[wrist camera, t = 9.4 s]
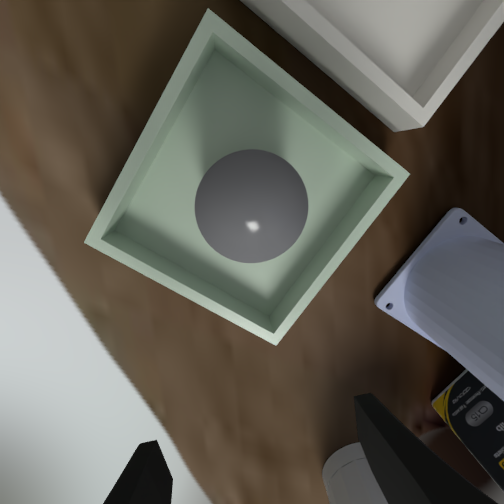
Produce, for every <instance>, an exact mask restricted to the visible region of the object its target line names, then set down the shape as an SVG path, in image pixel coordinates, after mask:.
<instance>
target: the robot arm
mask: <svg viewBox="0 0 504 504" xmlns="http://www.w3.org/2000/svg"><path fill="white" fill-rule="evenodd" d="M460 218H462V221H461V222H460V223H459V220H460ZM388 303H390V305H389V306H388V307H386V305H387V304H388ZM375 305H376V306H377V307H378V308H380V309H381V310H383V311H384V312H386V313H387V314H389V315H391V316H392V317H394V318H395V319H397V320H398V321H400V322H401V323H403V324H405V325H406V326H408V327H409V328H411V329H412V330H414V331H415V332H417V333H419V334H420V335H422V336H423V337H425V338H426V339H428V340H430V341H431V342H433V343H434V344H436V345H437V346H439V347H440V348H442V349H444V350H445V351H447V352H448V353H449V354H450V355H451V356H452V357H454V358H455V359H456V360H457V361H458V362H459V363H460V364H462V365H463V366H464V367H465V368H466V369H467V370H468V371H470V372H471V373H472V374H473V375H474V376H475V377H476V378H478V379H479V380H480V381H481V382H482V383H483V384H484V385H486V386H487V387H488V388H489V389H490V390H491V391H492V392H494V393H495V394H496V395H497V396H498V397H499V398H500V399H502V400H503V401H504V243H503V242H502V241H500V240H499V239H498V238H497V237H496V236H494V235H493V234H492V233H491V232H490V231H488V230H487V229H486V228H485V227H483V226H482V225H481V224H480V223H479V222H477V221H476V220H475V219H474V218H473V217H471V216H470V215H469V214H468V213H467V212H465V211H464V210H463V209H461V208H452V209H450V210H449V211H448V212H447V214H446V215H445V216H444V217H443V218H442V219H441V221H440V222H439V223H438V224H437V225H436V227H435V228H434V229H433V230H432V231H431V233H430V234H429V235H428V236H427V237H426V239H425V240H424V241H423V242H422V243H421V244H420V246H419V247H418V248H417V249H416V250H415V252H414V253H413V254H412V255H411V256H410V258H409V259H408V260H407V261H406V262H405V263H404V265H403V266H402V267H401V268H400V269H399V271H398V272H397V273H396V274H395V275H394V277H393V278H392V279H391V280H390V281H389V282H388V284H387V285H386V286H385V287H384V288H383V290H382V291H381V292H380V293H379V294H378V296H377V297H376V298H375ZM354 402H355V412H356V421H357V431H358V439H359V441H360V444H361V446H362V449H363V451H364V454H365V456H366V459H367V461H368V464H369V466H370V468H371V471H372V473H373V475H374V477H375V479H376V481H377V483H378V485H379V487H380V489H381V491H382V493H383V495H384V497H385V499H386V501H387V502H388V504H498V503H496V502H495V501H494V500H492V499H491V498H490V497H488V496H487V495H486V494H484V493H483V492H482V491H481V490H479V489H478V488H477V487H475V486H474V485H473V484H472V483H470V482H469V481H468V480H467V479H465V478H464V477H463V476H462V475H460V474H459V473H458V472H457V471H456V470H454V469H453V468H452V467H451V466H449V465H448V464H447V463H446V462H445V461H443V460H442V459H441V458H440V457H439V456H438V455H436V454H435V453H434V452H433V451H432V450H431V449H430V448H428V447H427V446H426V445H425V444H424V443H423V442H422V441H421V440H420V439H418V438H417V437H416V436H415V435H414V434H413V433H412V432H411V431H410V430H409V429H408V428H406V427H405V426H404V425H403V424H402V423H401V422H400V421H399V420H398V419H397V418H396V417H395V416H394V415H393V414H392V413H391V412H390V411H389V410H388V409H387V408H386V407H385V406H384V405H383V404H382V403H381V402H380V401H379V400H378V399H377V398H376V397H375V396H374V395H373V394H371V393H368V394H363V395H358V396H354ZM172 485H173V478H172V476H171V473H170V471H169V469H168V466H167V464H166V461H165V459H164V456H163V454H162V452H161V449H160V447H159V444H158V442H157V440H155V441H150V442H145V443H141V444H139V446H138V447H137V449H136V450H135V452H134V454H133V456H132V457H131V459H130V461H129V462H128V464H127V466H126V467H125V469H124V471H123V472H122V474H121V475H120V477H119V479H118V480H117V482H116V484H115V485H114V487H113V489H112V490H111V492H110V494H109V495H108V497H107V498H106V500H105V501H104V503H103V504H171V497H172Z"/></svg>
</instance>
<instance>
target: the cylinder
mask: <svg viewBox="0 0 504 504" xmlns="http://www.w3.org/2000/svg"><path fill="white" fill-rule="evenodd" d="M307 216H308V196H307V191H306V188H305V185H304V183H303V181H302V178H301V177H300V175H299V174H298V172H297V171H296V170H295V169H294V167H293V166H292V165H291V164H289V163H288V162H287V161H286V160H284V159H283V158H281V157H280V156H278V155H276V154H274V153H271V152H268V151H264V150H258V149H247V150H240V151H236V152H233V153H231V154H228V155H226V156H224V157H223V158H221V159H219V160H218V161H217V162H216V163H214V164H213V165H212V166H211V167H210V168H209V169H208V171H207V172H206V173H205V175H204V176H203V178H202V180H201V182H200V184H199V186H198V189H197V192H196V197H195V217H196V222H197V225H198V228H199V230H200V232H201V234H202V236H203V237H204V239H205V240H206V242H207V243H208V244H209V245H210V246H211V247H212V248H213V249H214V250H215V251H216V252H218V253H219V254H221V255H222V256H224V257H226V258H228V259H231V260H233V261H237V262H242V263H260V262H265V261H268V260H271V259H274V258H276V257H278V256H280V255H281V254H283V253H284V252H286V251H287V250H288V249H289V248H290V247H291V246H292V245H293V244H294V243H295V242H296V241H297V239H298V238H299V236H300V235H301V233H302V231H303V229H304V226H305V224H306V220H307Z"/></svg>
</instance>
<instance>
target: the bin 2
mask: <svg viewBox="0 0 504 504" xmlns="http://www.w3.org/2000/svg"><path fill="white" fill-rule="evenodd" d="M240 1H241V2H242V3H243V4H245V5H246V6H247V7H248V8H249V9H250V10H252V11H253V12H254V13H255V14H256V15H257V16H259V17H260V18H261V19H262V20H263V21H264V22H266V23H267V24H268V25H269V26H270V27H272V28H273V29H274V30H275V31H276V32H277V33H279V34H280V35H281V36H282V37H283V38H284V39H286V40H287V41H288V42H289V43H290V44H291V45H293V46H294V47H295V48H296V49H297V50H298V51H300V52H301V53H302V54H303V55H304V56H305V57H307V58H308V59H309V60H310V61H311V62H313V63H314V64H315V65H316V66H317V67H318V68H320V69H321V70H322V71H323V72H324V73H325V74H327V75H328V76H329V77H330V78H331V79H332V80H334V81H335V82H336V83H337V84H338V85H339V86H341V87H342V88H343V89H344V90H345V91H346V92H348V93H349V94H350V95H351V96H352V97H354V98H355V99H356V100H357V101H358V102H359V103H361V104H362V105H363V106H364V107H365V108H366V109H368V110H369V111H370V112H371V113H372V114H373V115H375V116H376V117H377V118H378V119H379V120H380V121H382V122H383V123H384V124H385V125H386V126H387V127H389V128H390V129H391V130H392V131H393V132H398V131H403V130H409V129H415V128H421V127H424V126H425V124H426V123H427V122H428V120H429V119H430V118H431V116H432V115H433V114H434V112H435V111H436V110H437V109H438V107H439V106H440V105H441V103H442V102H443V101H444V99H445V98H446V97H447V95H448V94H449V93H450V91H451V90H452V89H453V87H454V86H455V85H456V84H457V82H458V81H459V80H460V78H461V77H462V76H463V74H464V73H465V72H466V70H467V69H468V68H469V66H470V65H471V64H472V63H473V61H474V60H475V59H476V57H477V56H478V55H479V53H480V52H481V51H482V49H483V48H484V47H485V45H486V44H487V43H488V42H489V40H490V39H491V38H492V36H493V35H494V34H495V32H496V31H497V30H498V28H499V27H500V26H501V24H502V23H503V22H504V0H240Z"/></svg>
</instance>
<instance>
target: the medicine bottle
mask: <svg viewBox="0 0 504 504" xmlns="http://www.w3.org/2000/svg"><path fill="white" fill-rule="evenodd" d="M432 406H433V407H434V409H435V410H436V411H437V412H438V413H439V415H440V416H441V417H442V418H443V419H444V421H445V422H446V423H447V424H448V425H449V427H450V428H451V429H452V430H453V432H454V433H455V434H456V435H457V436H458V438H459V439H460V440H461V441H462V442H463V444H464V445H465V446H466V447H467V448H468V450H469V451H470V452H471V453H472V454H473V455H474V457H475V458H476V459H477V460H478V461H479V463H480V464H481V465H482V466H483V468H484V469H485V470H486V471H487V472H488V474H489V475H490V476H491V477H492V478H493V480H494V481H495V482H496V483H497V485H498V486H499V487H500V488H501V489H502V491H503V492H504V401H503V400H502V399H500V398H499V397H498V396H497V395H496V394H495V393H494V392H492V391H491V390H490V389H489V388H488V387H487V386H486V385H484V384H483V383H482V382H481V381H480V380H479V379H478V378H476V377H475V376H474V375H473V374H472V373H471V372H470V371H468V370H467V369H466V370H464V371H463V372H462V373H461V374H460V375H459V376H458V377H457V378H456V379H455V380H454V381H453V382H452V383H451V384H449V385H448V386H447V387H446V388H445V389H444V390H443V391H442V392H441V393H440V394H439V395H438V396H437V397H435V398H434V399H433V400H432Z"/></svg>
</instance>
